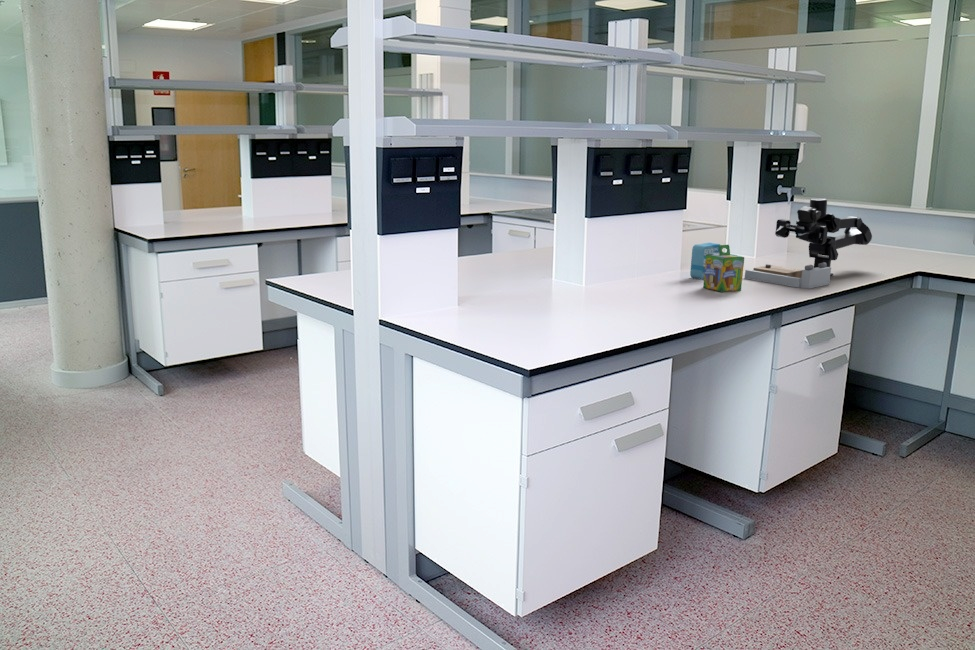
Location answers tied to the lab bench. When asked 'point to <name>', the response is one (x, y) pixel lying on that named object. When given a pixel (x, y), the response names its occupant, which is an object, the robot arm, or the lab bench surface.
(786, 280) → the guide rail
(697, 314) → the lab bench surface
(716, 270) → the chalk box
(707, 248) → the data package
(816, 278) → the block
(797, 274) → the door panel
